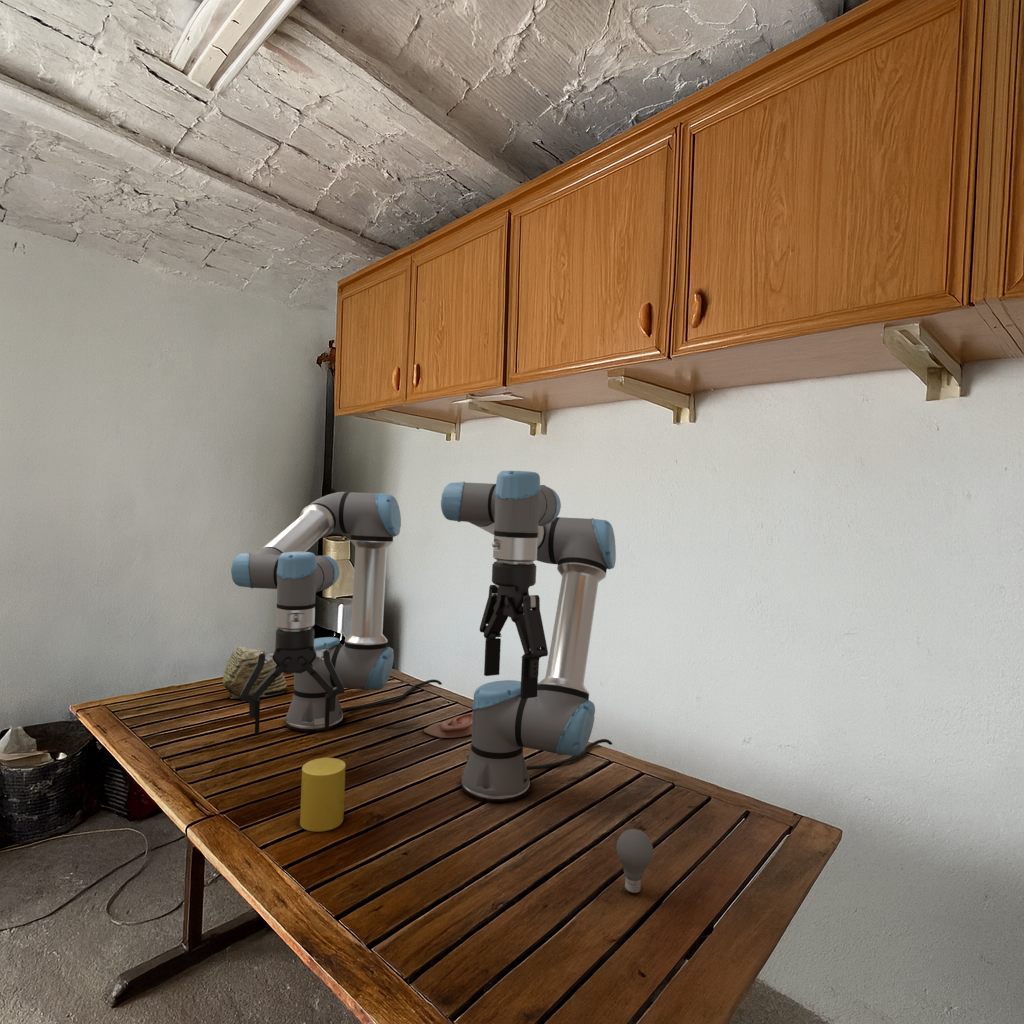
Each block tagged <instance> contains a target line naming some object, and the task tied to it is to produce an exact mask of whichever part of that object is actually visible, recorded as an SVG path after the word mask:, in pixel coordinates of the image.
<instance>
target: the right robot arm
mask: <svg viewBox="0 0 1024 1024" xmlns="http://www.w3.org/2000/svg"><path fill="white" fill-rule="evenodd" d="M559 496H560V495H559V494H558V493H557V492H556V491H555V490H554V489H553V488H551V487H549V486H547V485H545V484H541V476H540V474H539V473H538V472H536V471H527V470H501V471H499V473H498V474H497V475H496V482H495V483H485V482H483V483H482V482H466V481H461V482H460V481H459V482H458V481H457V482H449V483H448V484H446V485H445V487H444V488H443V490H442V493H441V499H440V509H441V513H442V515H443V517H444V518H445V519H446V520H448V521H453V522H457V523H461V522H465V523H468V524H469V523H470V524H472V525H473V526H476V527H478V528H480V529H482V530H483V531H485V532H487V533H489V534H490V535H492V536H493V542H492V543H491V545H492V548H493V549H492V551H493V553H492V558H493V559H494V560H496V561H494V562H493V563H492V565H491V566H492V569H491V582H492V583H493V584H490V585H489V587H488V597H487V601H486V603H485V607H484V611H483V615H482V619H481V622H480V625H479V632H480V633H483V637H484V639H485V642H484V643H485V644H484V646H485V647H484V664H483V665H484V669H483V676H485V677H491V676H500V670H501V669H500V668H501V667H500V665H501V646H502V645H501V644H502V639H501V638H502V633H501V631H502V630H503V628H504V626H505V624H506V622H507V620H508V618H510V619H511V622H513V623H514V625H515V627H516V631H517V634H518V638H519V640H520V643H521V647H522V651H523V654H522V656H521V670H520V671H521V673H520V680H513V679H512V680H511V679H509V680H508V679H505V680H495V681H491V682H487V683H484V684H481V685H480V686H478V687H477V688H476V689H475V690H474V692H473V700H472V706H471V709H472V712H471V713H472V734H471V744H470V752H469V756H468V757H466V764H465V767H464V770H463V772H462V774H461V790H462V791H463V793H465V794H466V795H468V796H469V797H471V798H473V799H476V800H479V801H481V802H487V803H488V802H489V803H508V802H512V801H517V800H519V799H522V798H523V797H525V796H527V794H528V793H529V791H530V784H531V783H530V782H531V781H530V775H529V771H533V770H542V769H548V768H554V767H558V766H563V765H565V764H568V763H572V762H574V761H577V760H579V759H581V758H583V757H584V756H585V755H586V754H587V753H588V750H589V749H590V748H592V747H594V746H597V745H599V744H603V743H606V744H608V745H610V746H611V745H613V742H612V741H611V740H609V739H608V738H601V739H597V740H595V741H593V742H591V743H589V741H590V738H591V736H592V735H591V734H592V732H593V727H594V723H595V713H596V705H595V704H594V702H593V701H591V700H590V692H589V691H588V689H587V688H586V686H585V678H586V670H587V663H588V656H589V650H590V644H591V637H592V630H593V629H592V628H593V622H594V615H595V608H596V601H597V595H598V588H599V583H600V582H601V581H603V580H604V579H606V577H607V570H613V569H614V568H615V566H616V559H617V549H616V547H617V546H616V537H615V531H614V528H613V525H612V523H611V522H610V521H608V520H606V519H598V518H594V517H592V518H584V517H581V518H580V517H565V516H563V517H562V516H559V515H560V512H561V508H562V502H561V499H560V497H559ZM535 561H537V562H540V563H545V564H548V565H549V564H550V565H557V568H556V570H557V572H558V573H559V574H560V575H561V581H560V587H559V593H558V598H557V599H558V600H557V606H556V613H555V618H554V623H553V629H552V636H551V641H550V647H549V651H548V646H547V645H548V644H547V640H546V635H545V630H544V624H543V618H542V614H541V604H540V603H541V599H540V595H539V594H530V591H529V590H530V589H529V588H531V587H534V586H535V585H536V582H537V565H536V564H535V563H534V562H535ZM543 657H548V659H547V667H546V670H545V671H546V672H545V677H544V678H542V680H540V681H539V671H540V659H541V658H543ZM524 748H526V749H532V750H537V751H541V752H547V753H551V754H556V755H558V756H561V755H563V756H570V758H569V757H568V758H566V759H563V760H559V761H555V762H551V763H545V764H538V765H536V764H535V765H527V764H526V761H525V757H524Z"/></svg>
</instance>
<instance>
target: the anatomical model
mask: <svg viewBox="0 0 1024 1024" xmlns="http://www.w3.org/2000/svg"><path fill="white" fill-rule="evenodd" d="M423 733H424V734H427V735H430V736H432V737H436V738H442V739H448V738H449V739H451V738H461V737H466V736H469V735H472V712H468V713H464V714H461V715H457V716H454V717H452V718H448V719H446V720H443V721H439V722H435V723H433V724H430V725H429V726H427V727H425V728H424V730H423Z"/></svg>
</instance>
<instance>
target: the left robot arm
mask: <svg viewBox="0 0 1024 1024" xmlns="http://www.w3.org/2000/svg"><path fill="white" fill-rule="evenodd" d="M401 517H402V516H401V510H400V506H399V502H398V500H397V498H395V496H394V495H392V494H388V493H381V492H355V491H354V492H352V491H351V492H350V491H337V492H333V493H330V494H326V495H324V496H321V497H320V498H317V499H316V500H314V501H312V502H310V503H309V504H307V506H305V507H304V508H303V509H302V510H301V512H300V513H299V517H298V518H297V519H296V520H294V521H293V522H292V523H291V524H290V525H287V527H285V528H284V529H283V530H282V531H281V532H279V533H278V534H277V535H276V536H274V537H273V538H272V539H271V540H270V541H268V542H267V543H266V544H265V545H264V546H263V547H261V548H260V549H259V550H258V551H256V552H255V553H252V552H247V553H245V552H244V553H238V554H237V555H236V556H235V557H234V559H233V560H232V563H231V567H230V574H231V580H232V581H233V583H234V585H236V586H238V587H242V588H250V589H270V590H276V607H275V608H276V611H275V612H276V615H275V616H276V617H275V626H276V627H277V629H276V630H275V644H274V645H275V648H274V651H273V652H266V651H265V650H264V651H261V652H260V653H259V658H258V663H257V664H256V666H255V668H254V670H253V672H252V673H251V675H250V677H249V679H248V681H247V682H246V684H245V686H244V688H243V690H242V691H241V694H240V698H239V700H240V701H246V702H248V703H249V704H248V706H249V707H248V709H249V710H248V716H249V718H250V719H254V736H259V735H260V718H261V717H260V716H261V715H260V713H261V709H260V708H261V697H260V696H261V695H262V693H263V692H264V691H265V690H266V689H267V688H268V687H269V686H270V685H271V683H272V682H273V681H274V680H275V679H276V678H277V677H278V676H279V675H280V674H281V673H282V674H283V673H284V674H285V675H291V674H293V695H292V696H293V697H292V699H291V702H290V704H289V708H288V711H287V713H286V715H285V726H286V728H287V729H289V730H291V731H294V732H295V731H296V732H301V733H316V732H325V731H329V730H332V729H335V728H337V727H339V726H340V725H342V723H343V722H344V714H343V712H346V711H353V710H359V709H364V708H365V709H366V708H370V707H376V706H381V705H384V704H390V703H393V702H396V701H399V700H402V699H403V698H406V696H408V695H409V694H410V693H411V692H413V691H414V690H415V689H417V688H419V687H423V686H425V685H429V684H432V683H436V684H438V685H443V683H442V681H440V680H438V679H429V680H425V681H423V682H420V683H416V684H414V685H413V686H411V687H410V688H409V689H408V690H406V691H405V692H404V693H403V694H401V695H398V696H396V697H394V698H393V697H392V698H388V699H383V700H380V701H374V702H370V703H369V702H368V703H364V704H360V705H353V706H346V707H345V706H344V707H342V706H341V702H340V699H339V695H340V694H344V693H345V691H346V690H345V689H354V690H364V691H379V690H382V689H383V688H384V687H385V686H386V685H387V684H388V681H389V679H390V676H391V673H392V669H393V666H394V661H395V654H394V653H395V652H394V648H392V647H390V646H388V640H389V639H387V637H386V636H385V635H384V634H383V632H384V631H383V630H384V613H385V612H384V611H385V595H386V594H385V593H386V592H385V591H386V575H387V556H388V554H387V553H388V548H389V547H390V546H391V545H393V542H394V538H395V537H398V536H399V535H400V531H401V527H402V518H401ZM331 534H346V535H347V534H348V535H350V537H349V541H350V542H351V543H352V544H353V546H354V547H355V548H354V549H355V551H354V568H353V585H352V586H353V587H352V603H351V604H352V605H351V624H350V625H351V626H350V634H349V635H348V636H347V637H346V638H344V644H341V641H340V639H339V638H338V637H334V636H325V637H316V638H315V628H314V626H315V623H316V622H315V621H316V595H317V593H318V592H321V591H325V590H327V589H330V587H332V586H334V585H335V584H336V583H337V582H338V579H339V578H340V567H339V565H338V562H337V561H336V560H335V559H334V558H333V557H332V556H328V555H319V554H318V555H316V554H315V553H314V552H311V551H308V550H309V549H311V547H313V546H314V545H315V543H317V542H318V541H319V540H320V539H323V538H327V537H328V536H329V535H331ZM270 659H272V660H273V661H274V663H275V665H276V666H275V667H274V669H273V670H272V671H271V672H270V674H269V675H268V676H267V677H266V678H265V679H264V680H263V681H262V683H261V684H260V685H259V686H258V687H257V688H256V689H255V690H254V691H253V693H249V692H250V690H251V689H252V687H253V685H254V683H255V681H256V680H257V678H258V676H259V674H260V672H261V671H262V669H263V666H264V664H267V663H268V662H269V660H270Z"/></svg>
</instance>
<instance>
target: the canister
mask: <svg viewBox="0 0 1024 1024" xmlns="http://www.w3.org/2000/svg"><path fill="white" fill-rule="evenodd" d="M300 783H301V784H300V785H301V786H300V809H299V811H300V813H299V825H300V827H301V828H302V829H304V830H306V831H309V832H314V833H316V832H318V833H319V832H326V831H331V830H334V829H336V828H338V827H339V826H341V825H342V823H343V821H344V817H345V816H344V815H345V794H346V793H345V791H346V790H345V789H346V762H345V761H344V760H342V759H340V758H336V757H321V758H315V759H311V760H309V761H307V762H305V763H304V764H303V765H302V767H301V782H300Z"/></svg>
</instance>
